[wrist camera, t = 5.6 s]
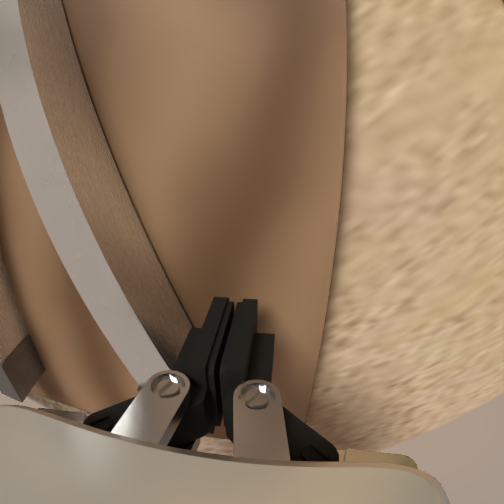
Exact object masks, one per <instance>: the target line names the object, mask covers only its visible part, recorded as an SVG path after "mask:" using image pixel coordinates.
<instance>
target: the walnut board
mask: <svg viewBox="0 0 504 504" xmlns="http://www.w3.org/2000/svg"><path fill="white" fill-rule="evenodd" d="M61 2H62V6H63V10H64V13H65V17H66V21H67V25H68V28H69V32H70V35H71V39H72V42H73V46H74V49H75V52H76V56H77V59H78V62H79V65H80V68H81V71H82V75H83V78H84V81H85V84H86V87H87V90H88V92H89V95H90V98H91V101H92V104H93V107H94V110H95V112H96V115H97V118H98V121H99V123H100V126H101V129H102V131H103V134H104V137H105V139H106V142H107V144H108V147H109V150H110V152H111V155H112V157H113V160H114V162H115V165H116V167H117V169H118V172H119V174H120V177H121V179H122V182H123V184H124V186H125V189H126V191H127V193H128V196H129V198H130V200H131V203H132V205H133V207H134V209H135V212H136V214H137V216H138V218H139V221H140V223H141V225H142V227H143V229H144V231H145V234H146V236H147V238H148V240H149V242H150V244H151V246H152V249H153V251H154V253H155V255H156V257H157V259H158V261H159V263H160V265H161V267H162V269H163V271H164V273H165V275H166V277H167V279H168V281H169V283H170V285H171V287H172V289H173V291H174V293H175V295H176V297H177V299H178V301H179V303H180V305H181V307H182V309H183V310H184V312H185V314H186V316H187V318H188V320H189V322H190V324H191V325H192V327H194V328H202V326H203V323H204V321H205V318H206V316H207V313H208V311H209V308H210V306H211V303H212V301H213V298H214V297H228V298H229V301H233V302H234V313H235V309H236V306H237V302H242V301H243V299H258V321H257V333H270V334H275V342H274V358H273V371H272V382H271V383H272V384H273V385H275V386H276V387H277V388H278V389H279V392H280V394H281V400H282V406H284V407H285V408H286V409H287V410H289V411H290V412H291V413H292V414H294V415H295V416H296V417H297V418H299V419H300V420H301V421H302V422H304V423H305V421H306V417H307V412H308V408H309V403H310V398H311V393H312V388H313V383H314V378H315V373H316V368H317V363H318V357H319V352H320V346H321V341H322V335H323V329H324V323H325V317H326V310H327V304H328V297H329V290H330V283H331V276H332V268H333V260H334V252H335V244H336V235H337V226H338V216H339V206H340V195H341V184H342V171H343V156H344V140H345V120H346V89H347V23H346V0H61ZM0 248H1V252H2V255H3V259H4V263H5V266H6V270H7V273H8V276H9V280H10V283H11V286H12V289H13V292H14V295H15V298H16V301H17V304H18V307H19V310H20V312H21V315H22V318H23V320H24V323H25V326H26V328H27V331H28V333H29V334H30V336H31V338H32V341H33V343H34V345H35V348H36V350H37V352H38V354H39V357H40V359H41V361H42V363H43V365H44V368H45V372H44V373H43V374H42V376H41V377H40V378H39V380H38V381H37V382H36V384H35V385H34V387H33V388H32V389H31V391H30V392H32V393H35V394H38V395H40V396H43V397H46V398H49V399H51V400H54V401H57V402H60V403H63V404H66V405H69V406H72V407H75V408H78V409H82V410H85V411H88V412H92V413H95V412H97V411H100V410H102V409H105V408H107V407H110V406H113V405H115V404H118V403H120V402H123V401H125V400H128V399H130V398H133V397H135V396H137V395H138V391H137V389H138V387H139V384H138V383H137V382H136V380H135V379H134V377H133V376H132V375H131V373H130V372H129V371H128V369H127V368H126V366H125V365H124V363H123V362H122V361H121V359H120V358H119V356H118V355H117V353H116V352H115V350H114V349H113V347H112V346H111V344H110V343H109V341H108V340H107V338H106V337H105V335H104V334H103V332H102V331H101V329H100V327H99V326H98V324H97V323H96V321H95V319H94V318H93V316H92V314H91V313H90V311H89V310H88V308H87V306H86V304H85V303H84V301H83V299H82V298H81V296H80V294H79V292H78V291H77V289H76V287H75V285H74V283H73V282H72V280H71V278H70V276H69V274H68V272H67V271H66V269H65V267H64V265H63V263H62V261H61V259H60V257H59V255H58V253H57V251H56V249H55V247H54V245H53V243H52V241H51V239H50V237H49V235H48V232H47V230H46V228H45V226H44V224H43V222H42V219H41V217H40V215H39V213H38V210H37V208H36V206H35V203H34V201H33V198H32V196H31V194H30V191H29V189H28V186H27V184H26V181H25V178H24V176H23V173H22V170H21V168H20V165H19V162H18V159H17V156H16V153H15V150H14V147H13V144H12V141H11V138H10V135H9V132H8V129H7V125H6V122H5V118H4V115H3V111H2V107H1V104H0ZM205 436H206V437H214V438H222V439H229V438H228V437H227V436H226V428H225V427H224V420H223V418H222V422H221V426H220V427H219V426H215V430H214V434H210V433H208V434H207V435H205Z"/></svg>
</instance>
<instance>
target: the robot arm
mask: <svg viewBox="0 0 504 504" xmlns="http://www.w3.org/2000/svg"><path fill="white" fill-rule="evenodd" d="M257 321H258V299H243V301H242V302H237V306H236V309H235V313H234V302H233V301H229V298H228V297H214V298H213V301H212V303H211V306H210V308H209V311H208V313H207V316H206V318H205V321H204V323H203V326H202V328H194V327H192V328H191V329H190V331H189V333H188V335H187V337H186V340H185V342H184V344H183V346H182V349H181V351H180V353H179V356H178V358H177V360H176V363H175V365H174V367H173V370H166V371H161V372H158V373H156V374H154V375H152V376H151V377H150V378H149V379H148V381H147V382H146V384H145V385H144V386H143V388H142V389H141V391H140V392H139V393H138V395H137V396H135V397H133V398H130V399H128V400H125V401H123V402H120V403H118V404H115V405H113V406H110V407H107V408H105V409H102V410H100V411H97V412H95V413H93V414H91V415H90V416H86V414H85V413H79V412H69V411H61V410H53V409H45V408H38V409H34V408H30V407H26V406H19V405H0V504H450V502H449V500H448V497H447V495H446V492H445V491H444V489H443V487H442V485H441V484H440V482H439V481H438V480H437V479H436V478H435V477H433V476H432V475H430V474H428V473H426V472H424V471H421V470H418V468H417V464H416V463H415V462H414V460H413V459H411V458H410V457H408V456H405V455H400V454H390V453H381V452H372V451H365V450H358V449H351V448H347V450H346V451H345V450H339V449H336V448H335V447H334V446H333V445H332V444H331V443H330V442H329V441H327V440H326V439H325V438H323V437H322V436H321V435H319V434H318V433H317V432H315V431H314V430H313V429H311V428H310V427H309V426H308V425H306V424H305V423H304V422H302V421H301V420H300V419H299V418H297V417H296V416H295V415H294V414H292V413H291V412H290V411H289V410H287V409H286V408H285V407H284V406H282V400H281V394H280V392H279V389H278V388H277V387H276V386H275V385H273V384H272V383H271V382H272V371H273V358H274V342H275V334H270V333H257ZM222 418H223V420H224V427H225V428H226V436H227V437H228V438H229V439H230V440H231V441H232V442H233V443H234V456H226V455H218V454H211V453H204V452H198V451H197V449H198V446H199V444H200V438H201V437H203V436H205V435H207V434H208V433H210V434H214V430H215V426H219V427H220V426H221V422H222Z"/></svg>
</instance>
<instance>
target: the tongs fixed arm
mask: <svg viewBox="0 0 504 504" xmlns="http://www.w3.org/2000/svg"><path fill="white" fill-rule="evenodd" d="M44 372H45V368H44V365H43V363H42V361H41V359H40V357H39V354H38V352H37V350H36V348H35V345H34V343H33V341H32V338H31V336H30V334H29V333H28V331H27V328H26V326H25V323H24V320H23V318H22V315H21V312H20V310H19V307H18V304H17V301H16V298H15V295H14V292H13V289H12V286H11V283H10V280H9V276H8V273H7V270H6V266H5V263H4V259H3V255H2V252H1V248H0V391H1V392H2V394H5V395H7V396H9V397H11V398H13V399H16V400H18V401H20V402H23V400H24V399H25V398H26V396H27V395H28V393H29V392H30V391H31V389H32V388H33V387H34V385H35V384H36V382H37V381H38V380H39V378H40V377H41V376H42V374H43V373H44Z"/></svg>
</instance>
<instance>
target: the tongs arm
mask: <svg viewBox="0 0 504 504" xmlns="http://www.w3.org/2000/svg"><path fill="white" fill-rule="evenodd" d="M0 104H1V107H2V111H3V115H4V118H5V122H6V125H7V129H8V132H9V135H10V138H11V141H12V144H13V147H14V150H15V153H16V156H17V159H18V162H19V165H20V168H21V170H22V173H23V176H24V178H25V181H26V184H27V186H28V189H29V191H30V194H31V196H32V198H33V201H34V203H35V206H36V208H37V210H38V213H39V215H40V217H41V219H42V222H43V224H44V226H45V228H46V230H47V232H48V235H49V237H50V239H51V241H52V243H53V245H54V247H55V249H56V251H57V253H58V255H59V257H60V259H61V261H62V263H63V265H64V267H65V269H66V271H67V272H68V274H69V276H70V278H71V280H72V282H73V283H74V285H75V287H76V289H77V291H78V292H79V294H80V296H81V298H82V299H83V301H84V303H85V304H86V306H87V308H88V310H89V311H90V313H91V314H92V316H93V318H94V319H95V321H96V323H97V324H98V326H99V327H100V329H101V331H102V332H103V334H104V335H105V337H106V338H107V340H108V341H109V343H110V344H111V346H112V347H113V349H114V350H115V352H116V353H117V355H118V356H119V358H120V359H121V361H122V362H123V363H124V365H125V366H126V368H127V369H128V371H129V372H130V373H131V375H132V376H133V377H134V379H135V380H136V382H137V383H138V384H139V387H138V389H137V391H138V393H139V392H140V391H141V389H142V388H143V386H144V385H145V384H146V382H147V381H148V379H149V378H150V377H151V376H152V375H154V374H156V373H158V372H161V371H166V370H173V367H174V365H175V363H176V360H177V358H178V356H179V353H180V351H181V349H182V346H183V344H184V342H185V340H186V337H187V335H188V333H189V331H190V329H191V328H192V325H191V324H190V322H189V320H188V318H187V316H186V314H185V312H184V310H183V309H182V307H181V305H180V303H179V301H178V299H177V297H176V295H175V293H174V291H173V289H172V287H171V285H170V283H169V281H168V279H167V277H166V275H165V273H164V271H163V269H162V267H161V265H160V263H159V261H158V259H157V257H156V255H155V253H154V251H153V249H152V246H151V244H150V242H149V240H148V238H147V236H146V234H145V231H144V229H143V227H142V225H141V223H140V221H139V218H138V216H137V214H136V212H135V209H134V207H133V205H132V203H131V200H130V198H129V196H128V193H127V191H126V189H125V186H124V184H123V182H122V179H121V177H120V174H119V172H118V169H117V167H116V165H115V162H114V160H113V157H112V155H111V152H110V150H109V147H108V144H107V142H106V139H105V137H104V134H103V131H102V129H101V126H100V123H99V121H98V118H97V115H96V112H95V110H94V107H93V104H92V101H91V98H90V95H89V92H88V90H87V87H86V84H85V81H84V78H83V75H82V71H81V68H80V65H79V62H78V59H77V56H76V52H75V49H74V46H73V42H72V39H71V35H70V32H69V28H68V25H67V21H66V17H65V13H64V10H63V6H62V2H61V0H0Z"/></svg>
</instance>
